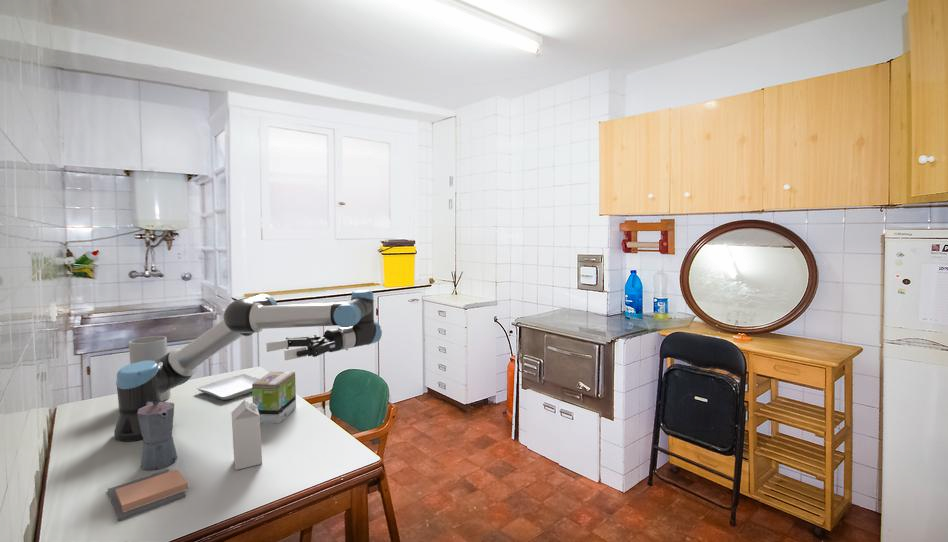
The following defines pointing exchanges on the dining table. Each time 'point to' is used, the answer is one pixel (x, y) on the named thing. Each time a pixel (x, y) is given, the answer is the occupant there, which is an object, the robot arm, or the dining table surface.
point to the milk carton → (246, 435)
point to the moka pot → (157, 434)
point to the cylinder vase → (149, 352)
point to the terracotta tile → (151, 490)
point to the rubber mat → (141, 509)
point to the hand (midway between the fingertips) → (275, 351)
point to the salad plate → (230, 387)
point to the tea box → (275, 396)
